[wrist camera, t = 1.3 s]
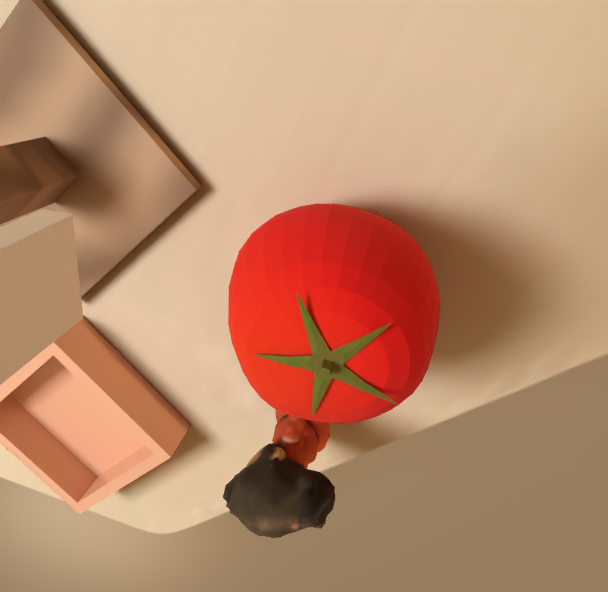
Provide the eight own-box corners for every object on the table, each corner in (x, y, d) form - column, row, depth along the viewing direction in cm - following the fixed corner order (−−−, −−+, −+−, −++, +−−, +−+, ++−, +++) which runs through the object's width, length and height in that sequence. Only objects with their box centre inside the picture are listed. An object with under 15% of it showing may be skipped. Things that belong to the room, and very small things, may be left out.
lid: (-72, 150, 38) (-204, 176, 30) (36, -6, 31) (-95, -28, 23) (77, 301, 41) (-7, 361, 33) (201, 186, 34) (136, 225, 26)
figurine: (321, 358, 39) (285, 472, 28) (358, 413, 40) (337, 541, 30) (256, 387, 41) (199, 502, 30) (293, 438, 43) (252, 565, 32)
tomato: (476, 287, 34) (511, 422, 21) (345, 368, 39) (311, 519, 26) (356, 136, 31) (316, 189, 19) (232, 244, 36) (134, 343, 24)
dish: (2, 386, 47) (-32, 413, 43) (82, 315, 42) (50, 339, 38) (103, 481, 50) (79, 514, 46) (190, 425, 44) (170, 457, 41)
